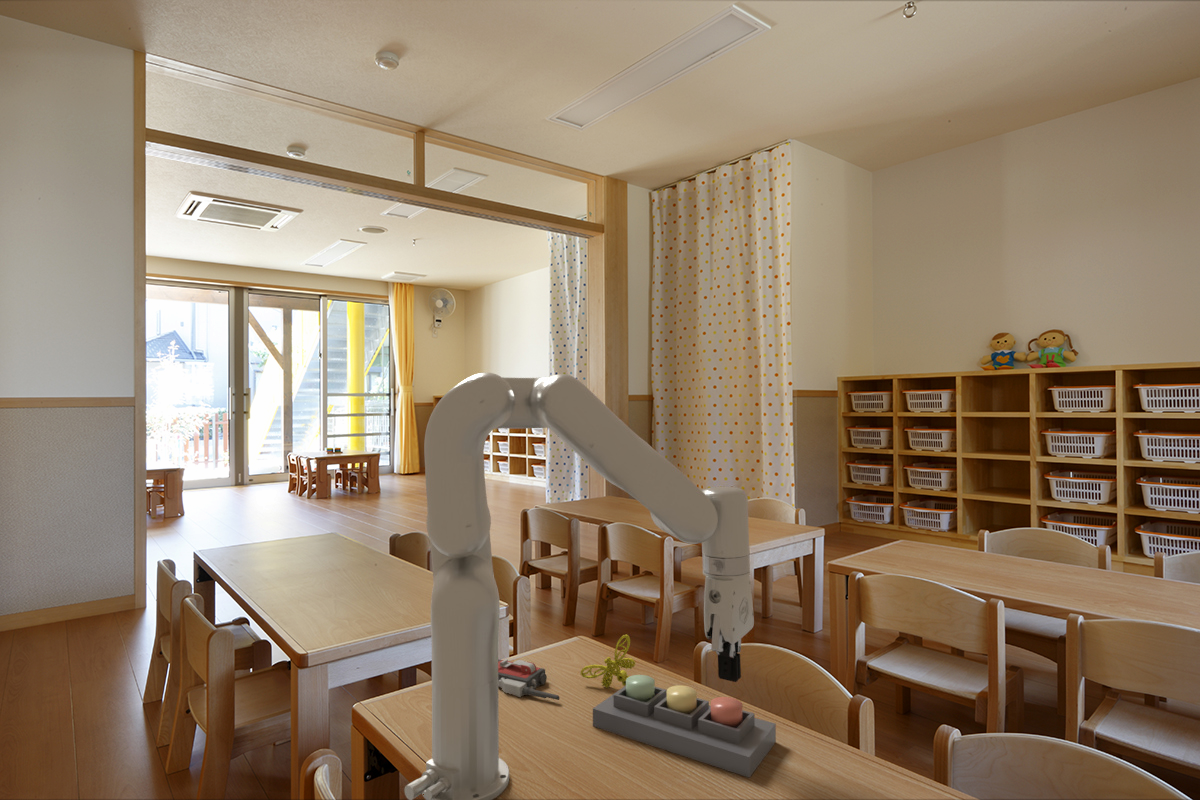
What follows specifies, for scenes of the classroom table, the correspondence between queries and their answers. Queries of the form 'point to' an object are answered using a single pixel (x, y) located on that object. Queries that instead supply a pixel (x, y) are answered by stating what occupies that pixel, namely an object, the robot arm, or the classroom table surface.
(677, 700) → the mustard button
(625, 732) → the button panel
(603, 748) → the classroom table surface
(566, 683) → the classroom table surface
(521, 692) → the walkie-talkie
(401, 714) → the classroom table surface
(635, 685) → the sage button
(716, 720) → the red button
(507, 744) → the classroom table surface
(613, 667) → the decorative insect
